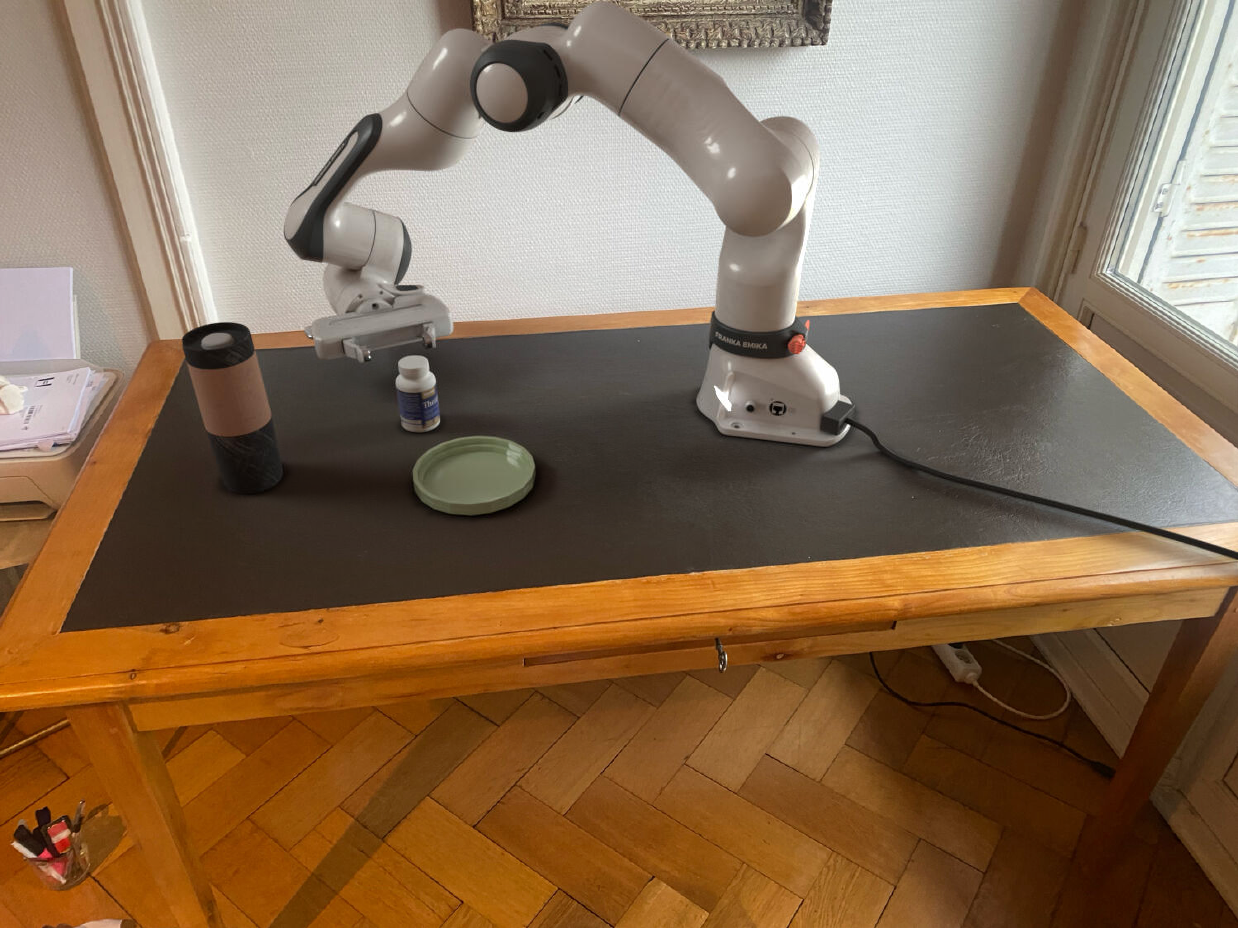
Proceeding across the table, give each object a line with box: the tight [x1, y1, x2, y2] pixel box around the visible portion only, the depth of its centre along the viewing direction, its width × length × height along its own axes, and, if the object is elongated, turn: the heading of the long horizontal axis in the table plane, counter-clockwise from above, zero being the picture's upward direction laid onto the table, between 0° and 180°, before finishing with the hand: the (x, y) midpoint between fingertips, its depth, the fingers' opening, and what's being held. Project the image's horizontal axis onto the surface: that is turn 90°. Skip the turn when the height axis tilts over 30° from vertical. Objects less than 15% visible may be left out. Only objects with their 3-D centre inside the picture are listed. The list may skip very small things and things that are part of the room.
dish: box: [412, 435, 537, 516], centre depth 112 cm, size 15×15×2 cm
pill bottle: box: [395, 355, 441, 433], centre depth 122 cm, size 5×5×10 cm
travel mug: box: [181, 321, 284, 495], centre depth 107 cm, size 8×8×20 cm
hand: (398, 350), depth 125 cm, fingers open, 8 cm apart
